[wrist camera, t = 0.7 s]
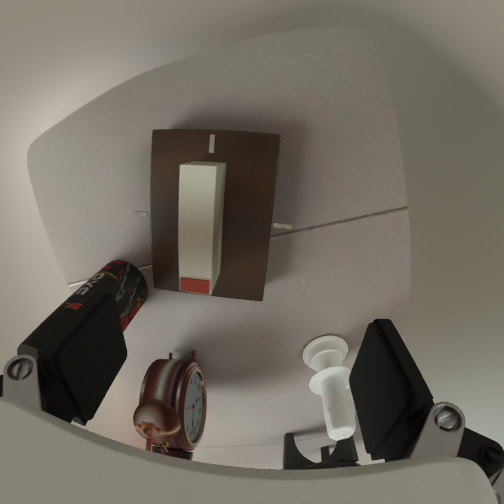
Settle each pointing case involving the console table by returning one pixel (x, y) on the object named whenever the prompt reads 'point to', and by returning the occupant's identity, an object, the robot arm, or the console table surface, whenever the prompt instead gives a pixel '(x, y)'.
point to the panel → (234, 210)
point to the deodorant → (107, 279)
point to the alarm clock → (172, 407)
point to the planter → (338, 459)
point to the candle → (331, 383)
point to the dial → (200, 225)
